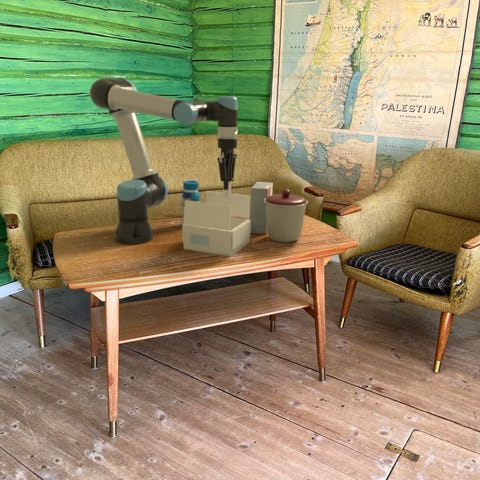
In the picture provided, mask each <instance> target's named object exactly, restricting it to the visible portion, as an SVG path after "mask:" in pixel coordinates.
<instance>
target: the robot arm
mask: <svg viewBox="0 0 480 480" xmlns="http://www.w3.org/2000/svg"><path fill="white" fill-rule="evenodd" d="M89 96H90V100H91V101H92V103H93V104H94V106H96V107H98V109H99V108H100V109H103V110H107V111H108V113H109V116H110V117H111V118H113V119H114V120H115V122H116V125H117V128H118V132H119V135H120V137H121V141H122V144H123V147H124V150H125V152H126V156H127V159H128V162H129V165H130V168H131V171H132V177H131V179H130V180H125V181H122V182H120V183H118V185H117V187H116V197H117V209H118V210H117V213H118V224H117V227H116V230H115V235H114V236H115V241H117V242H118V243H120V244H127V245H128V244H129V245H130V244H131V245H134V244H144V243H147V242H149V241H150V242H151V241H152V240H153V238H154V232H153V230H152V227H151V224H150V222H149V216H148V214H149V213H148V210H149V209H151V208H153V207H156V206H158V205H160V204H161V203H162V202H164V201H165V200H166V198H167V197H168V193H169V189H168V185H167V182H166V181H165V180H164V179H163V178H162V177H160V175H159V172H158V171H157V170H155V169H154V168H153V164H152V161H151V158H150V156H149V152H148V148H147V146H146V142H145V140H144V137H143V136H144V135H143V133H142V130H141V127H140V124H139V120H138V116H137V114H136V113H139V114H143V115H149V116H152V117H157V118H163V119H166V120H172V121H176V122H177V123H179V124H181V125H191V124H195V123H200V122H217V137H218V138H217V148H218V149H220V157H217V162H218V169H219V170H218V171H219V177H220V182H223V184H222V185H223V186H222V187H223V188H222V190H223V192H222V193H223V197H224V198H231V194H232V182H233V181H234V178H235V169H236V168H235V167H236V162H237V161H236V160H237V156H238V155H237V153H235V149H237V148H238V139H237V137H238V132H239V130H238V113H239V112H238V111H239V110H238V108H239V107H238V98H237V97H236V96H233V95H232V96H231V95H228V96H227V95H226V96H225V95H220V96H219V95H218V97H217V100H216V101H215V100H214V101H213V100H210V101H208V100H191V101H186V100H181V99H176V98H170V97H165V96H162V95H156V94H151V93H146V92H140V91H138V90H137V87H136V86H135V85H134V82H132V81H130V80H128V79H124V78H120V77H118V78H107V77H106V78H99V79H97V80H95V81H94V82H93V83H92V84H91V87H90V89H89Z"/></svg>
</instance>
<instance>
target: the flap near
mask: <svg viewBox="0 0 480 480" xmlns="http://www.w3.org/2000/svg"><path fill="white" fill-rule="evenodd" d="M231 210H232V206H229V205H221V204H212V203H206V202H203V201H202V202H196V201H188V200H185V207H184V219H183V218H182V224H188V225H195V226H202V227H209V228H216V229H223V230H230V220H231V217H232V216H231Z"/></svg>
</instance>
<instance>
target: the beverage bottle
mask: <svg viewBox="0 0 480 480" xmlns="http://www.w3.org/2000/svg"><path fill="white" fill-rule="evenodd" d="M182 184H183V185H182V188H183V189H182V190H183V193H182V195H181V199H182V201H181V210H182V213H181V214H182V220H183V219H184V207H185V200H188V201H196V202H201V194H200V192H199V191H198V190H199V187H200V185H199V181H197V180H184V181H183V183H182Z"/></svg>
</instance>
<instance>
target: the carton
mask: <svg viewBox="0 0 480 480" xmlns="http://www.w3.org/2000/svg"><path fill="white" fill-rule="evenodd" d="M250 224H251V220H250V218H242V217H235V216H231V220H230V230H223V229H216V228H209V227H202V226H195V225H188V224H183V223H181V226H182V228H181V229H182V243H183V250H186V251H192V252H198V253H203V254H204V253H205V254H210V255H216V256H222V257H228V258H231V257H233V256H234V255H236V254H237V253H238V252H239V251H241V250H242V249H244V248H245V247H246V246H247V245H249V243H250V238H251V233H250Z"/></svg>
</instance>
